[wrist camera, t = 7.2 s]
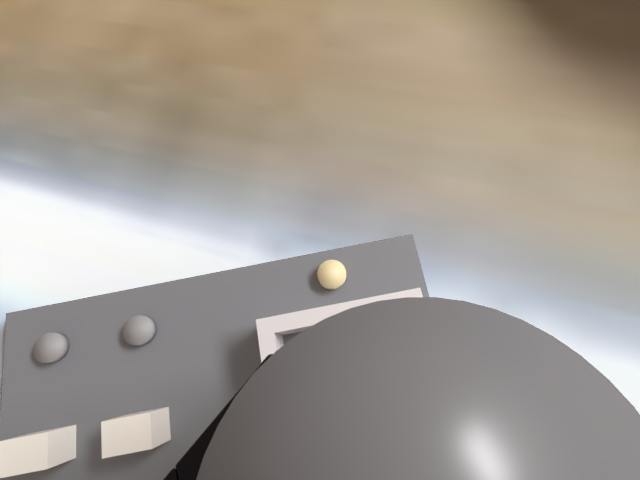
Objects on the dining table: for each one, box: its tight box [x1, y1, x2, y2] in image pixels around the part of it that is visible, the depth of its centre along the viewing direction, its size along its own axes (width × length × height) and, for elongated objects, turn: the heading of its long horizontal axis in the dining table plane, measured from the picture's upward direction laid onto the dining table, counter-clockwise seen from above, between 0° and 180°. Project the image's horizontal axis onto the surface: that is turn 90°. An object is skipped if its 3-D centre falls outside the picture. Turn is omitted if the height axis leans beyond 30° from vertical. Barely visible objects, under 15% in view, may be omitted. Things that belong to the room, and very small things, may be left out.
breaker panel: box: [0, 234, 429, 480], centre depth 20 cm, size 24×12×4 cm, turn 100°
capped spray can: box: [196, 297, 640, 480], centre depth 10 cm, size 5×5×13 cm
